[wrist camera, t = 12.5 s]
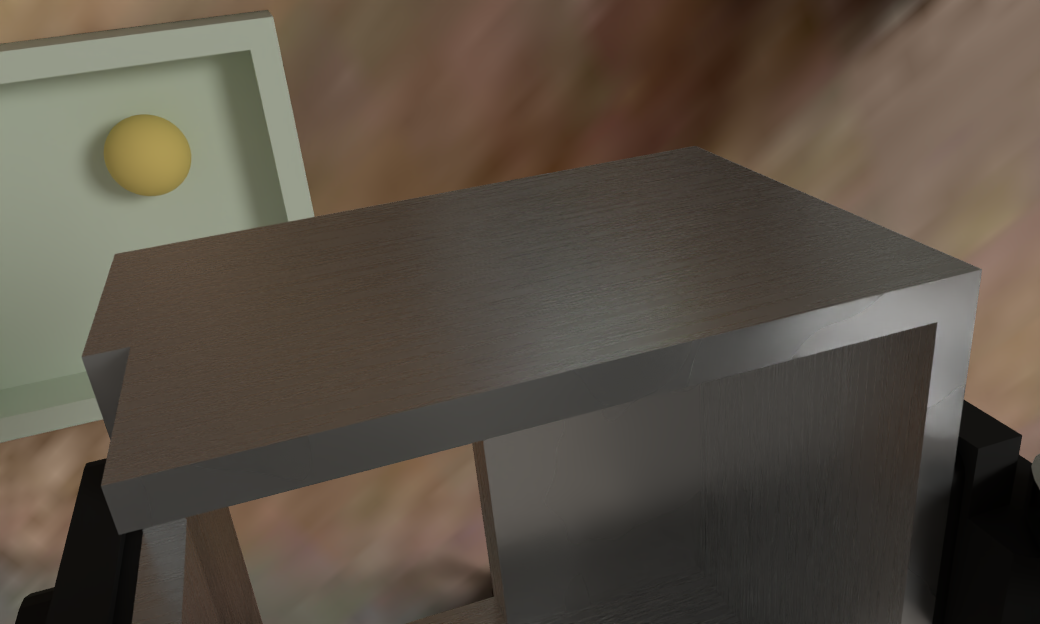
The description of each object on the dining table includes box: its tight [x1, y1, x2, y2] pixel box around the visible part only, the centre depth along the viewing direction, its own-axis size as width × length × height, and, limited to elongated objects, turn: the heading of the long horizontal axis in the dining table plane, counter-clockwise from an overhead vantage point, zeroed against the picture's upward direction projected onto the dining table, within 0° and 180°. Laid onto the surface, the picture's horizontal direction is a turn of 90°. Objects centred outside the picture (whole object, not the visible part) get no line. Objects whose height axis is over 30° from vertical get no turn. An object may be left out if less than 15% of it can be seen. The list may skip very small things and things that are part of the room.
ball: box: [104, 114, 191, 196], centre depth 32 cm, size 3×3×3 cm
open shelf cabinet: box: [81, 146, 982, 624], centre depth 10 cm, size 7×7×5 cm
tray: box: [0, 10, 314, 443], centre depth 33 cm, size 14×15×4 cm
